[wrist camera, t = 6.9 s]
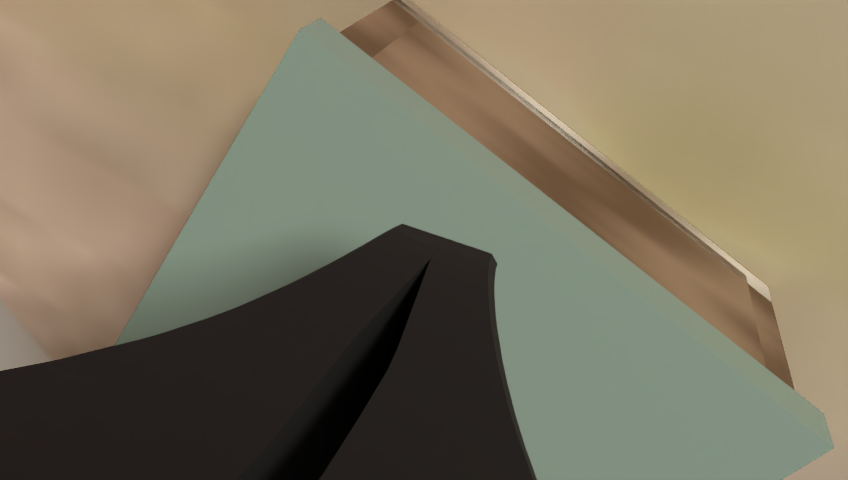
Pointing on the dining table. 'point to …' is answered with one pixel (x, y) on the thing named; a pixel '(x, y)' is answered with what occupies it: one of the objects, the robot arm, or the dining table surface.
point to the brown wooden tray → (573, 175)
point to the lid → (514, 278)
